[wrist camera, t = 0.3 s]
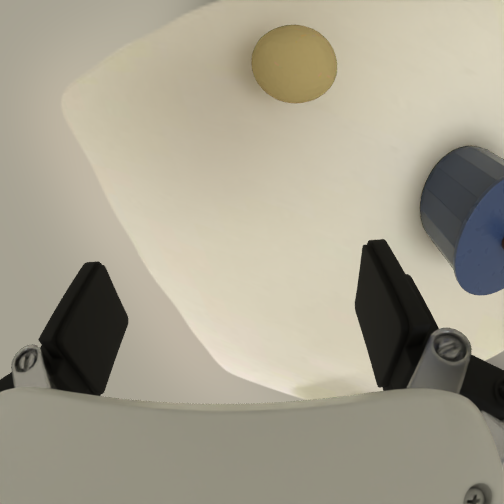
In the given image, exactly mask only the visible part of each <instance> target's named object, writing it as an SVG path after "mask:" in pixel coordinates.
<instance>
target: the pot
mask: <svg viewBox="0 0 504 504" xmlns="http://www.w3.org/2000/svg"><path fill="white" fill-rule="evenodd" d="M503 176H504V159H502V158H501V157H499V156H497V155H496V154H494V153H492V152H490V151H489V150H487V149H483V148H480V147H477V146H465V147H461V148H458V149H455V150H453V151H452V152H450V153H448V154H447V155H446V156H445V157H443V158H442V159H441V160H440V161H439V162H438V163H437V165H436V166H435V167H434V169H433V170H432V172H431V173H430V175H429V177H428V179H427V181H426V183H425V186H424V189H423V192H422V196H421V203H420V214H421V220H422V224H423V227H424V229H425V231H426V233H427V234H428V235H429V237H430V238H431V240H432V242H433V243H434V244H435V245H436V247H437V248H438V249H439V251H440V252H441V253H442V255H443V256H444V257H445V259H446V260H447V261H448V263H449V264H450V265H451V267H452V268H453V270H454V267H453V256H454V249H455V244H456V241H457V237H458V234H459V232H460V229H461V227H462V225H463V222H464V220H465V218H466V216H467V215H468V213H469V211H470V209H471V208H472V206H473V205H474V203H475V202H476V201H477V199H478V198H479V197H480V196H481V194H482V193H483V192H484V191H485V190H486V189H487V188H488V187H489V186H490V185H492V184H493V183H494V182H495V181H497V180H498V179H499V178H501V177H503Z"/></svg>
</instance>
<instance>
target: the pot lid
mask: <svg viewBox="0 0 504 504" xmlns="http://www.w3.org/2000/svg"><path fill="white" fill-rule="evenodd" d="M453 267H454V273H455V277H456V279H457V281H458V283H459V284H460V286H461V287H462V288H463V289H464V290H465V291H467V292H468V293H470V294H474V295H488V294H492V293H495V292H497V291H500V290H502V289H503V288H504V176H503V177H501V178H499V179H498V180H497V181H495V182H494V183H493V184H492V185H490V186H489V187H488V188H487V189H486V190H485V191H484V192H483V193H482V194H481V196H480V197H479V198H478V199H477V201H476V202H475V203H474V205H473V206H472V208H471V209H470V211H469V213H468V215H467V216H466V218H465V220H464V222H463V225H462V227H461V229H460V232H459V234H458V237H457V241H456V244H455V249H454V256H453Z"/></svg>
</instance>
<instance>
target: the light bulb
mask: <svg viewBox="0 0 504 504" xmlns="http://www.w3.org/2000/svg"><path fill="white" fill-rule="evenodd" d="M251 63H252V71H253V74H254V77H255V79H256V81H257V82H258V84H259V85H260V87H261V88H262V89H263V90H264V91H265V92H266V93H267V94H269V95H270V96H272V97H274V98H275V99H277V100H280V101H283V102H288V103H303V102H308V101H311V100H314V99H316V98H318V97H320V96H321V95H323V94H324V93H325V92H326V91H327V90H328V89H329V88H330V87H331V85H332V84H333V82H334V80H335V77H336V73H337V60H336V56H335V53H334V50H333V48H332V46H331V45H330V43H329V42H328V41H327V39H326V38H325V37H324V36H322V35H321V34H320V33H319V32H317V31H315V30H314V29H311V28H308V27H305V26H300V25H286V26H282V27H278V28H276V29H273V30H271V31H269V32H268V33H266V34H265V35H264V36H263V37H262V38H261V39H260V40H259V41H258V42H257V44H256V46H255V48H254V51H253V54H252V62H251Z"/></svg>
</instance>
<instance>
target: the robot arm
mask: <svg viewBox="0 0 504 504" xmlns="http://www.w3.org/2000/svg"><path fill="white" fill-rule="evenodd" d="M355 311H356V314H357V317H358V321H359V324H360V327H361V330H362V334H363V337H364V340H365V344H366V347H367V350H368V354H369V357H370V361H371V364H372V368H373V371H374V375H375V379H376V382H377V385H378V387H383V391H380V392H371V393H365V394H358V395H350V396H342V397H333V398H323V399H313V400H303V401H291V402H275V403H256V404H255V403H253V404H189V403H167V402H152V401H139V400H129V399H119V398H111V397H102V396H100V395H101V394H103V393H104V391H105V388H106V385H107V382H108V379H109V376H110V373H111V370H112V367H113V364H114V361H115V358H116V356H117V353H118V350H119V347H120V344H121V342H122V339H123V336H124V333H125V331H126V328H127V325H128V316H127V314H126V312H125V310H124V307H123V306H122V303H121V301H120V299H119V297H118V295H117V293H116V290H115V288H114V286H113V283H112V281H111V279H110V277H109V274H108V272H107V270H106V268H105V266H104V265H102V264H101V263H100V262H87V263H85V264H84V265H83V266H82V268H81V269H80V271H79V272H78V274H77V275H76V277H75V279H74V280H73V282H72V283H71V285H70V286H69V288H68V290H67V291H66V293H65V294H64V296H63V298H62V299H61V301H60V303H59V304H58V306H57V308H56V309H55V311H54V313H53V314H52V316H51V318H50V320H49V321H48V323H47V325H46V327H45V329H44V330H43V332H42V334H41V336H40V338H39V341H40V343H41V344H42V346H41V348H39V347H38V346H37V345H27V346H25V347H23V348H22V349H20V350H19V351H18V352H17V353H16V355H15V356H14V359H13V361H12V367H11V368H12V372H11V373H10V374H8V375H7V376H5V377H4V378H2V379H1V380H0V504H504V370H502V369H500V368H498V367H496V366H493V365H491V364H489V363H487V362H485V361H483V360H481V359H479V358H477V357H475V356H473V355H471V345H470V342H469V340H468V339H467V337H466V336H465V335H464V334H462V333H461V332H459V331H458V330H456V329H452V328H441V329H439V328H438V326H437V324H436V322H435V320H434V318H433V316H432V314H431V312H430V310H429V309H428V307H427V305H426V303H425V301H424V299H423V297H422V295H421V294H420V292H419V290H418V288H417V286H416V285H415V283H414V281H413V279H412V278H411V276H410V275H408V274H405V273H404V271H403V269H402V267H401V266H400V264H399V262H398V260H397V259H396V257H395V255H394V254H393V252H392V250H391V249H390V247H389V245H388V244H387V242H386V241H385V240H384V239H381V240H369V241H368V243H367V245H363V248H362V256H361V264H360V272H359V279H358V286H357V293H356V299H355Z"/></svg>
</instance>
